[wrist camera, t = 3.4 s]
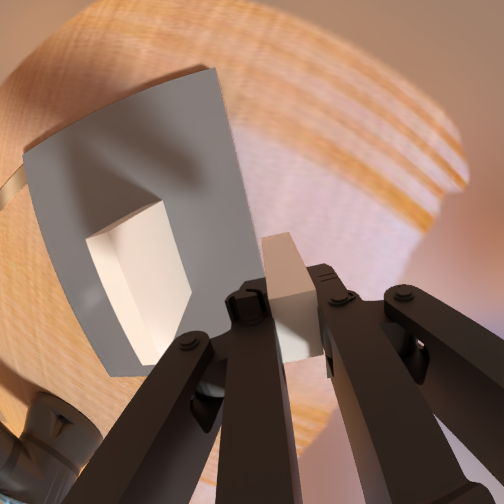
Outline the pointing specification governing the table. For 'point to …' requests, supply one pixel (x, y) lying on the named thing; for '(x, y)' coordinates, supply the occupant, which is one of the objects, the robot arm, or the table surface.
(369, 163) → the table surface
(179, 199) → the slate board
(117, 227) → the tile
